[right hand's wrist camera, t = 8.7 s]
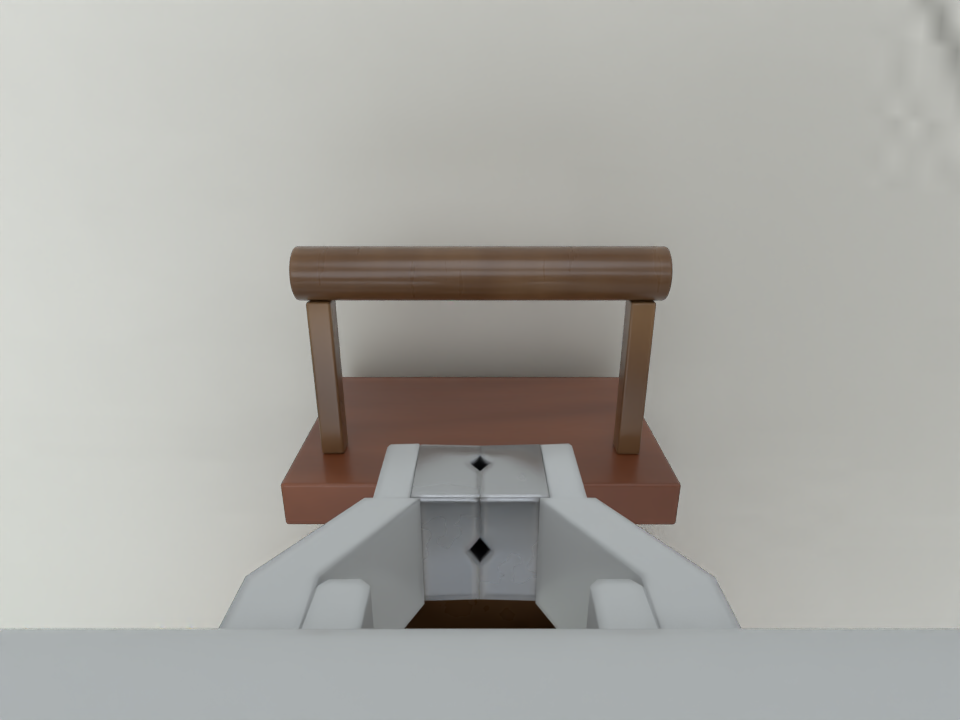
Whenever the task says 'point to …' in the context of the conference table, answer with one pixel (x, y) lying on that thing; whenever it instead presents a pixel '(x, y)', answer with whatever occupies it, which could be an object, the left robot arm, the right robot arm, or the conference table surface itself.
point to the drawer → (481, 388)
